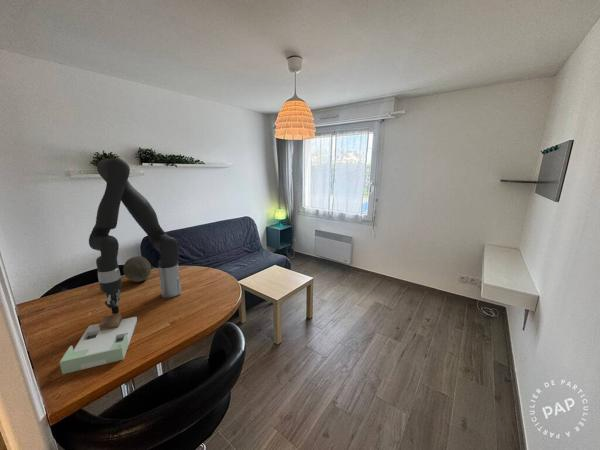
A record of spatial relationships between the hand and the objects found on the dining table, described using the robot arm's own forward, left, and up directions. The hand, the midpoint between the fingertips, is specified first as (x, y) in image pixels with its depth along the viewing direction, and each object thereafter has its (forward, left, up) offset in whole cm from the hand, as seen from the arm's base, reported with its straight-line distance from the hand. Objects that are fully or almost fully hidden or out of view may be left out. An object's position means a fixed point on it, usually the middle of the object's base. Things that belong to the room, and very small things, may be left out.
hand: (115, 312), depth 107 cm
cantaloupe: (-2, -38, -3) cm, 39 cm away
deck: (0, +17, -3) cm, 17 cm away
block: (0, +8, -1) cm, 8 cm away
